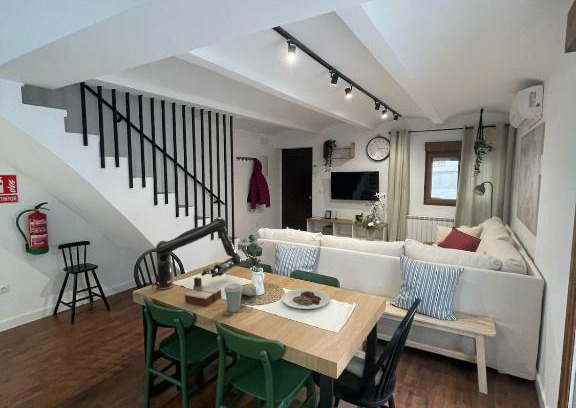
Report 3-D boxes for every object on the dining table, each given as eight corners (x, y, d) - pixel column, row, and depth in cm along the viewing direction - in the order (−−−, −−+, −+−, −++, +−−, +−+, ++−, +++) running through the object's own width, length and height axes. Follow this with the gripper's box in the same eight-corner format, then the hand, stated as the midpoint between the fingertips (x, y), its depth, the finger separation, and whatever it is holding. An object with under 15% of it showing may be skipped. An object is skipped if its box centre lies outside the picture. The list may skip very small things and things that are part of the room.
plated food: (288, 314, 178) (287, 308, 177) (277, 294, 207) (277, 289, 206) (337, 307, 184) (337, 302, 184) (320, 289, 213) (320, 284, 213)
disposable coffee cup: (222, 308, 186) (221, 284, 185) (239, 304, 192) (238, 280, 190) (228, 315, 177) (227, 289, 176) (246, 310, 183) (245, 286, 181)
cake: (185, 302, 195) (184, 293, 195) (201, 293, 209) (201, 285, 209) (205, 307, 189) (205, 297, 188) (221, 297, 203) (220, 288, 202)
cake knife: (193, 299, 201) (192, 277, 200) (195, 297, 203) (194, 276, 202) (202, 300, 198) (200, 279, 197) (204, 299, 200) (203, 278, 199)
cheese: (240, 303, 198) (258, 288, 196) (234, 293, 201) (252, 279, 199) (250, 301, 213) (267, 287, 211) (245, 291, 215) (261, 278, 213)
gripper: (213, 261, 225) (198, 268, 210) (229, 264, 219) (215, 271, 204) (213, 272, 226) (198, 279, 211) (230, 274, 220) (215, 282, 205)
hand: (206, 275), depth 208 cm, fingers open, 8 cm apart
